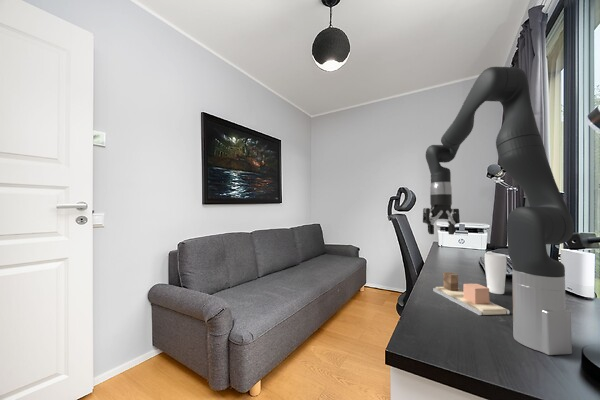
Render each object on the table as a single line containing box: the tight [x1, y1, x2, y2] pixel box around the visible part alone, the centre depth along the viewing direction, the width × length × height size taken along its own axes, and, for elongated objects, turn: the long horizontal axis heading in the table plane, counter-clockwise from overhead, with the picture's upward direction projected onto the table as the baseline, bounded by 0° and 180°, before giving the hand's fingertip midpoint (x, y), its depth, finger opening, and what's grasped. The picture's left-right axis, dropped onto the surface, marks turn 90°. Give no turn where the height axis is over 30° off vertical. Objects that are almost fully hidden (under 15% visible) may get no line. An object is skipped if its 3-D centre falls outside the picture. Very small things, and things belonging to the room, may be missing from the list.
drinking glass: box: [484, 252, 507, 295], centre depth 97 cm, size 7×7×15 cm
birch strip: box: [435, 271, 507, 316], centre depth 87 cm, size 22×8×8 cm, turn 6°
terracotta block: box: [462, 283, 490, 304], centre depth 83 cm, size 5×5×5 cm
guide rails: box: [432, 287, 511, 316], centre depth 87 cm, size 22×10×1 cm, turn 6°
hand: (441, 234), depth 98 cm, fingers open, 8 cm apart
